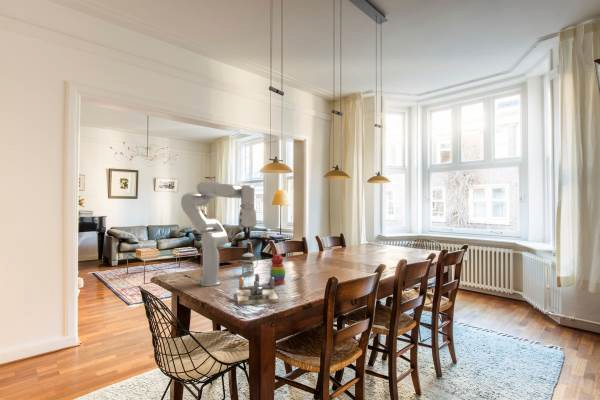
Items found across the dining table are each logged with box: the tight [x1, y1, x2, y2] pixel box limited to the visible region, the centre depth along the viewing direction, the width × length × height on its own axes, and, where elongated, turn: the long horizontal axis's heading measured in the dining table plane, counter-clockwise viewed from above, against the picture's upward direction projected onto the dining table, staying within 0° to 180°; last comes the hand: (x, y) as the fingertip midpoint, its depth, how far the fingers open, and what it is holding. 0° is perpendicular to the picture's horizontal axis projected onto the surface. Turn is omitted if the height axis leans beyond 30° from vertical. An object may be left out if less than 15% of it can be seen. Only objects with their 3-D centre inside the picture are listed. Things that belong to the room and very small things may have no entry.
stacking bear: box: [267, 253, 286, 286], centre depth 199 cm, size 11×10×18 cm
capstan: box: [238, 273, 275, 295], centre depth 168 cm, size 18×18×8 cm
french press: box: [240, 239, 259, 278], centre depth 218 cm, size 10×12×25 cm
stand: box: [235, 289, 280, 306], centre depth 167 cm, size 20×21×4 cm
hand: (246, 238), depth 182 cm, fingers closed
